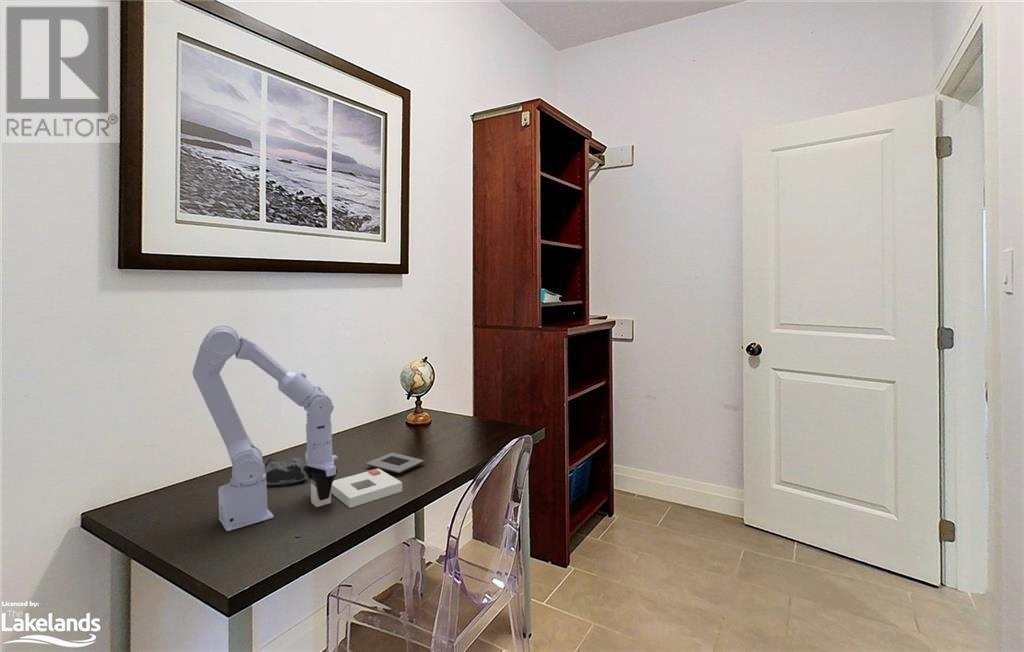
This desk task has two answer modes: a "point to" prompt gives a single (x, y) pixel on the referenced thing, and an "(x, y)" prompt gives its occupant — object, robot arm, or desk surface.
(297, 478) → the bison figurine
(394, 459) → the electrical outlet
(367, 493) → the socket plate
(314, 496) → the plug
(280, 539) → the desk surface
